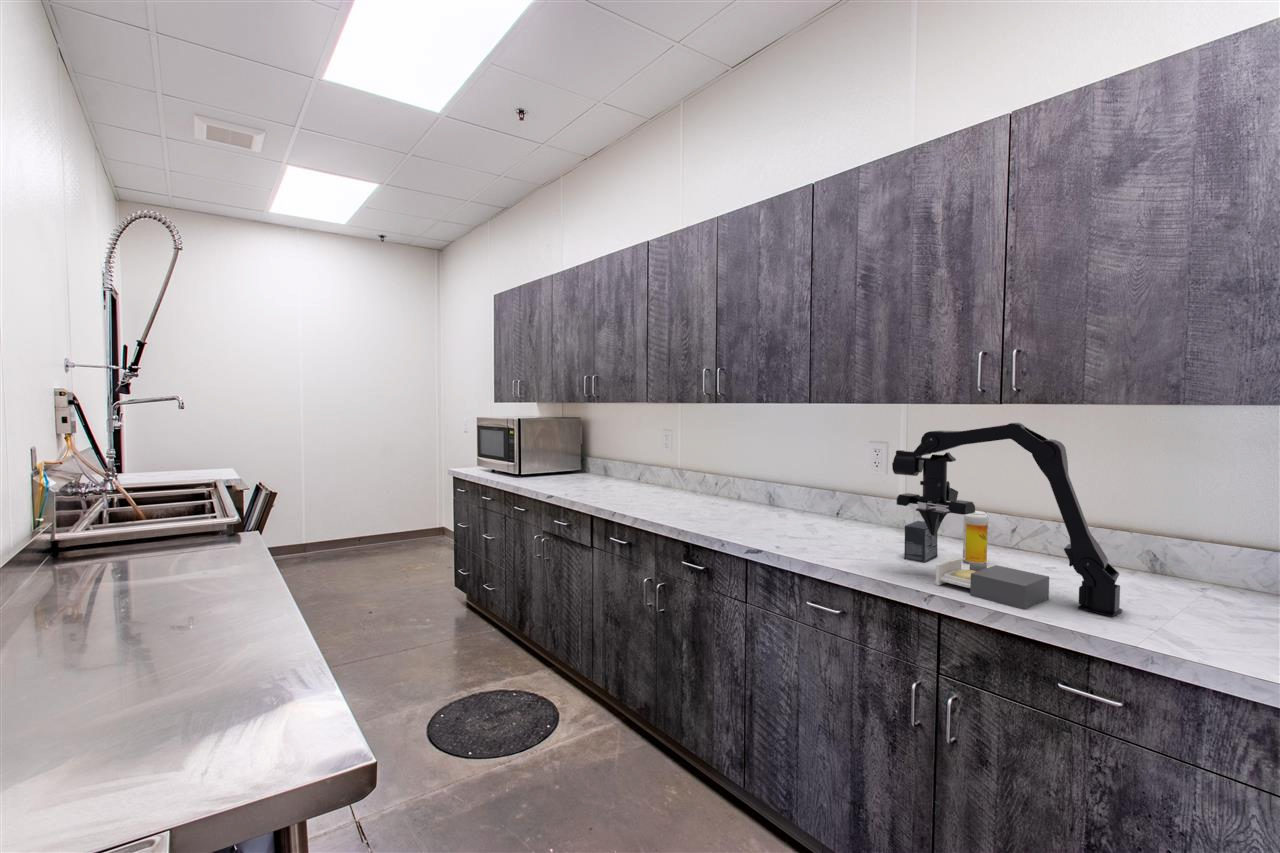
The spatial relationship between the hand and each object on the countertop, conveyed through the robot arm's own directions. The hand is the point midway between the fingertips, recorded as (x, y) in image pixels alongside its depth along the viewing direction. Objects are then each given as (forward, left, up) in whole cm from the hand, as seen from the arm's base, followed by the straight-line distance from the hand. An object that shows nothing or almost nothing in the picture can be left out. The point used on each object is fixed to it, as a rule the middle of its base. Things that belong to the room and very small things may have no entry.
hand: (933, 535), depth 157 cm
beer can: (+1, -25, -12) cm, 28 cm away
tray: (-9, 0, -11) cm, 15 cm away
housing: (-19, 0, -12) cm, 22 cm away
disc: (-9, 0, -10) cm, 13 cm away
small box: (+13, -17, -12) cm, 24 cm away
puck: (-7, -10, -12) cm, 17 cm away
